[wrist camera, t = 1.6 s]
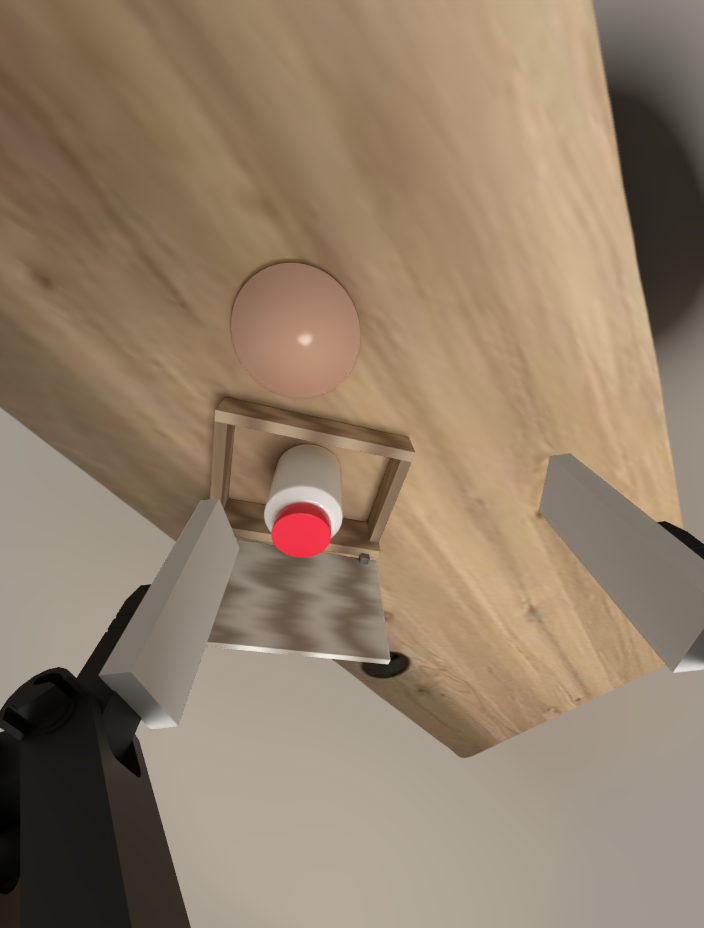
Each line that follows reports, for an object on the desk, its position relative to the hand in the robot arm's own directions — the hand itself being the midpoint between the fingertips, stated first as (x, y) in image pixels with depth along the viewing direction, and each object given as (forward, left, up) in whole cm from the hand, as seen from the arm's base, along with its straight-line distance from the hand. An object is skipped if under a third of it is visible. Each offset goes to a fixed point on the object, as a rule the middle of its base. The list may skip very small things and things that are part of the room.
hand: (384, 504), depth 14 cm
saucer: (-6, +1, -23) cm, 24 cm away
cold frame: (-2, -14, -23) cm, 27 cm away
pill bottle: (-2, -14, -23) cm, 27 cm away
